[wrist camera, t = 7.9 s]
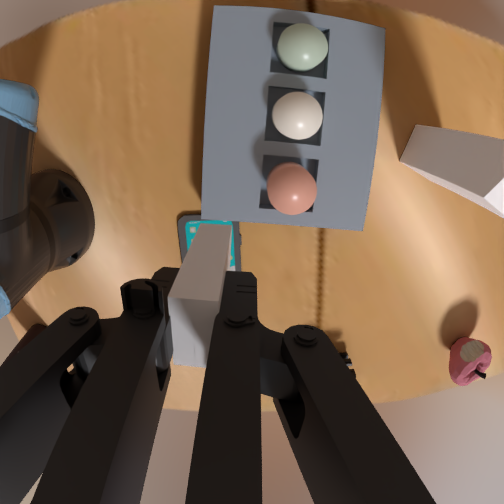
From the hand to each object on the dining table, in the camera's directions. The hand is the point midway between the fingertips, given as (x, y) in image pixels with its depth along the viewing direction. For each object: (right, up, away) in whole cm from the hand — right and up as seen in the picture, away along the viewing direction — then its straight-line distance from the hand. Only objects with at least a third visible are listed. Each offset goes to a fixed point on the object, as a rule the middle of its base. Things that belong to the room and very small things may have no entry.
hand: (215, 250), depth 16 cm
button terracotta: (+6, +8, +21) cm, 24 cm away
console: (+7, +17, +21) cm, 28 cm away
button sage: (+7, +23, +16) cm, 29 cm away
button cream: (+7, +16, +19) cm, 26 cm away
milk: (+25, +14, +23) cm, 37 cm away
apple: (+43, -19, +37) cm, 60 cm away
